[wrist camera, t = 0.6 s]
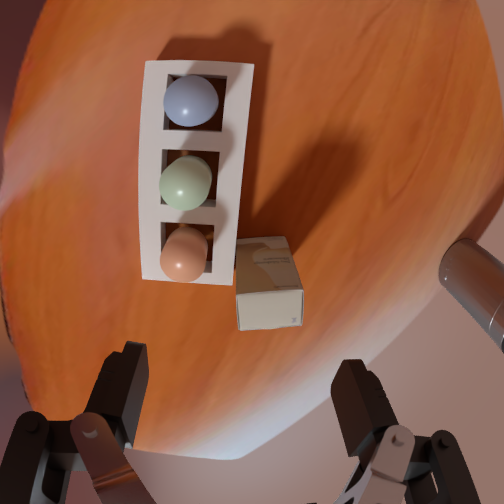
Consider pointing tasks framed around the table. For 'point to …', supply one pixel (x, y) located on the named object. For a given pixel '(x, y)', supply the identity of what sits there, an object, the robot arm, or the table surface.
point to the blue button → (190, 101)
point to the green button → (186, 183)
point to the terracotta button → (184, 255)
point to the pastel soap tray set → (162, 138)
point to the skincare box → (267, 284)
